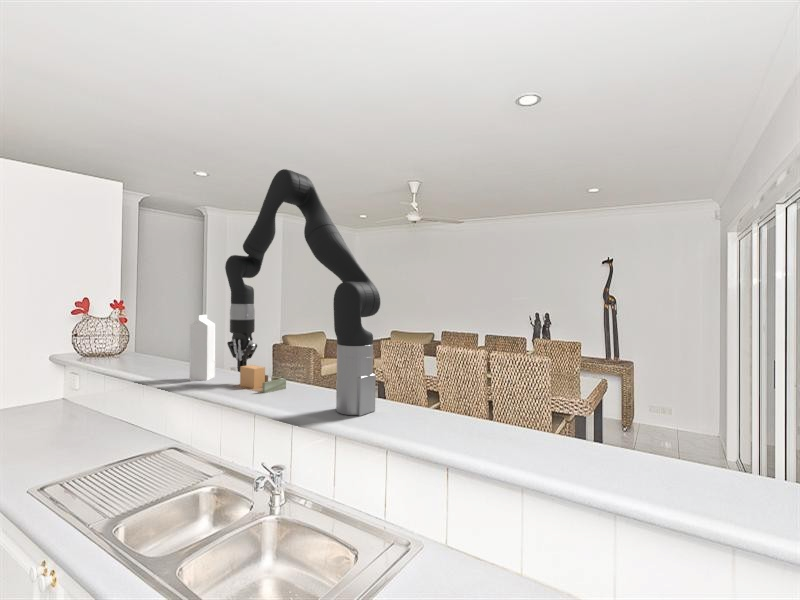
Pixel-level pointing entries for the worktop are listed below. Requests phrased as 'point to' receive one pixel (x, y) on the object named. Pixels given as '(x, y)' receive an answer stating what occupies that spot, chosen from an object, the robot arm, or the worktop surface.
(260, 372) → the block
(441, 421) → the worktop surface
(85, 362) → the worktop surface
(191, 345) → the milk
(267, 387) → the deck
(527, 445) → the worktop surface
